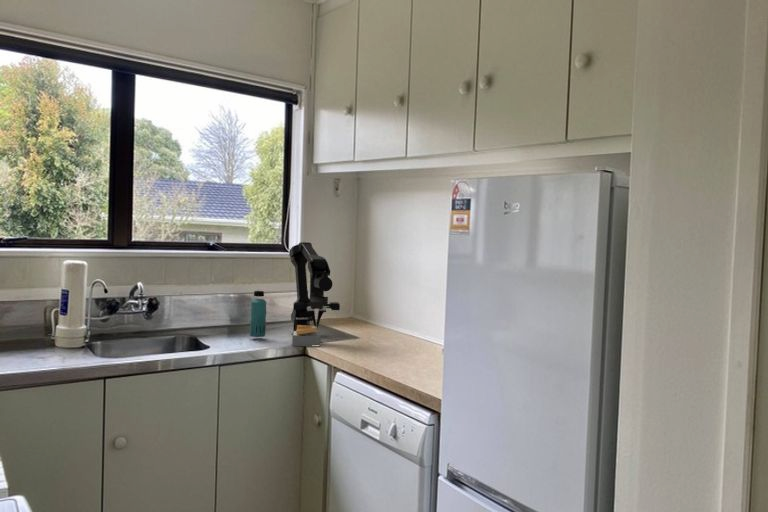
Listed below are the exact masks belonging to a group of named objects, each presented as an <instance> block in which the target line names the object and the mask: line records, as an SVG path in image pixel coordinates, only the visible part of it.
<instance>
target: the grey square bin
mask: <svg viewBox="0 0 768 512" xmlns="http://www.w3.org/2000/svg"><path fill="white" fill-rule="evenodd" d="M292 333H293V335H292V340H291V346H292V347H313V346H312V345H320V346H321V338H322V337H321V331H316V332H310V333H305V334H299V335H297V332H296V331H292Z"/></svg>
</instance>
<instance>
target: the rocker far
mask: <svg viewBox="0 0 768 512" xmlns="http://www.w3.org/2000/svg"><path fill="white" fill-rule="evenodd" d="M309 327H314V325H311V326H306V325H297V330H298V329H303V328H309ZM316 327H317V325H316ZM317 328H318V327H317Z"/></svg>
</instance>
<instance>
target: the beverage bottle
mask: <svg viewBox="0 0 768 512" xmlns="http://www.w3.org/2000/svg"><path fill="white" fill-rule="evenodd" d="M253 296H254V297H265V291H263V290H254V292H253ZM266 318H267V301H266V300H265V298H253V299H252V300H251V301H250V319H249V323H250V324H249V336H250V337H253V338H262V337H265V336H266V330H267V328H266V327H267V326H266V323H267V321H266Z"/></svg>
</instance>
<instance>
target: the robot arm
mask: <svg viewBox="0 0 768 512" xmlns="http://www.w3.org/2000/svg"><path fill="white" fill-rule="evenodd" d="M288 253H289V257H290V263H291V264H292V265H293V266H294V269H295V270H294V272H295V283H296V301H294V302H293V306H292V307H293V308H292V309H293V310H292V312H291V314H290V320H291V321H293V329H292V330H293V331H296V330H297V325H306V326H312V325H311V323H310V322H313V326H317V328H319V324H320V321H321V318H322V316H323V314H324V313H326V312H327V309H331V311H340V309H341V307H340V306H341V304H340V302H339V301H329V297H328V296H325V292H329V291H330V290H331V289H332V287H333V280H332V279H331V278H330V277H329V276H331V269H330V266H329V263H328V261H327V259H326V258H324V257H323V256H321V255H318V253H317V251H316V250H315V249H314V248H313V244H312V242H308V241H307V242H306V241H301V242H299V243H298V244H295V245H293V246H292V247H290V249H289V252H288ZM306 265H307V266H306ZM307 269H308V273H309V291H308V281H307V280H308V278H307V277H308V276H307ZM317 309H318V313H317V318H316V314H315V310H317ZM293 331H292V333H291V335H292V336H293Z"/></svg>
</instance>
